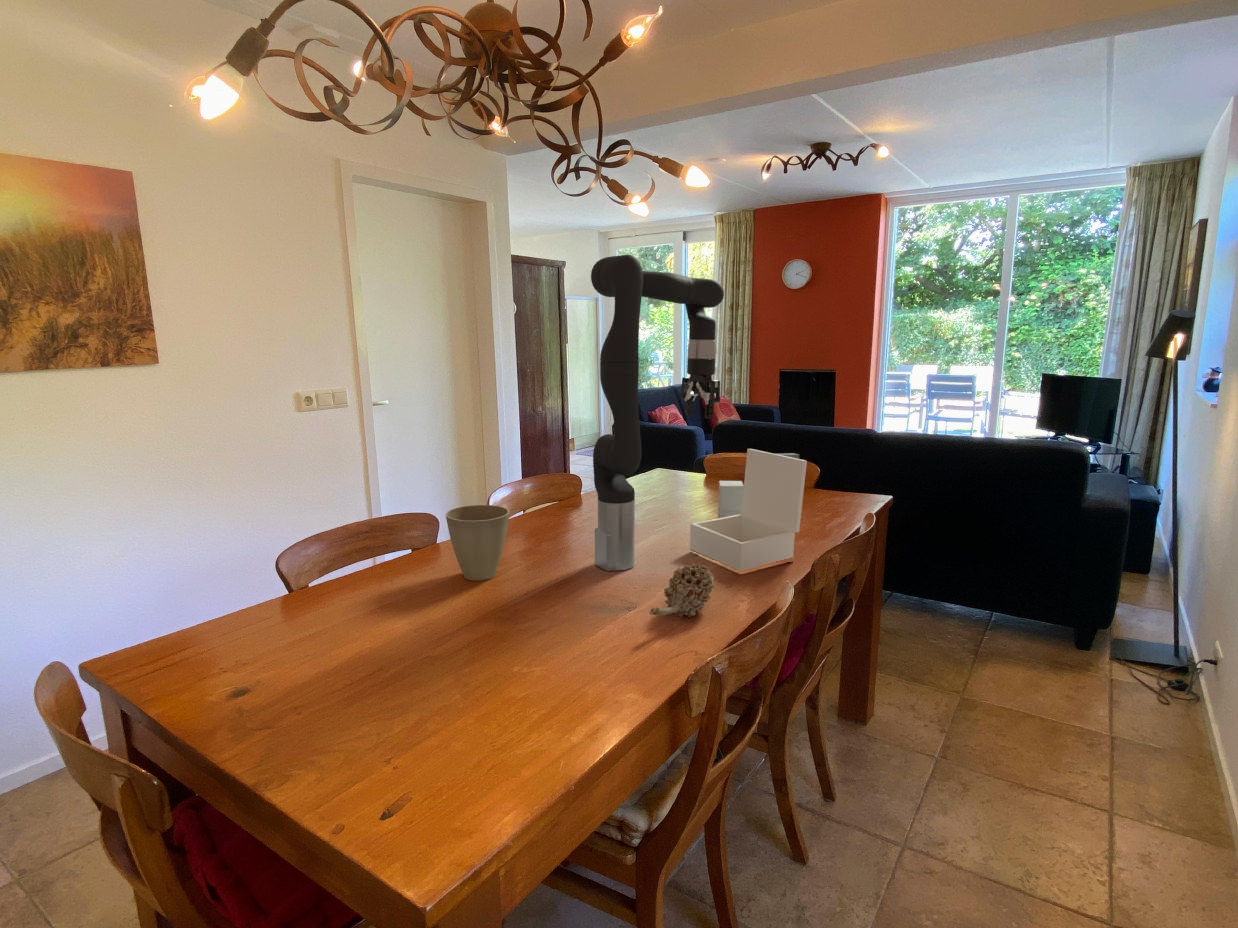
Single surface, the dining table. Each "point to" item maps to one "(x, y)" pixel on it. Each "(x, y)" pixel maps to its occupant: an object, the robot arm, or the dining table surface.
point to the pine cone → (687, 591)
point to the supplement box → (730, 498)
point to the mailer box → (725, 546)
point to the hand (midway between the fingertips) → (699, 416)
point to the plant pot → (478, 538)
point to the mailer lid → (774, 488)
